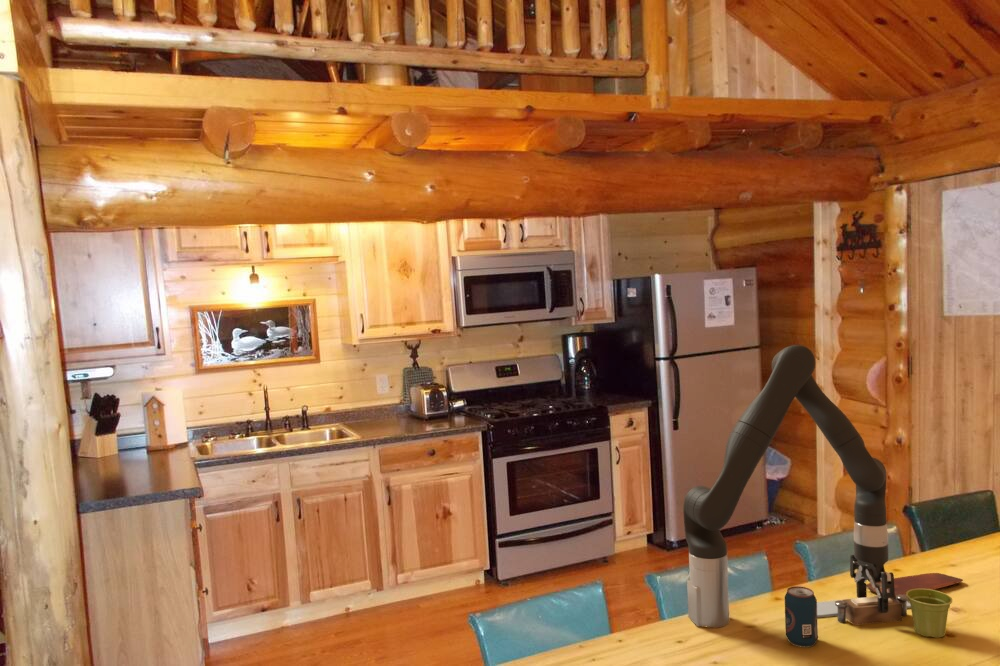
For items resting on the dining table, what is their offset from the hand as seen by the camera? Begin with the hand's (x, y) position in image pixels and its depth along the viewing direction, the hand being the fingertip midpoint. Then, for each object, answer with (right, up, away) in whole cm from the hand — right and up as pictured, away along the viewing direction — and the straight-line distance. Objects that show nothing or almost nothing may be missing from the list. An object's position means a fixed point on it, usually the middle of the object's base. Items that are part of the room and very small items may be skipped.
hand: (872, 604), depth 181 cm
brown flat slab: (+20, -1, +16) cm, 26 cm away
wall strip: (-1, -3, +7) cm, 7 cm away
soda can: (-21, -5, -10) cm, 24 cm away
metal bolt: (+8, -3, +1) cm, 9 cm away
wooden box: (0, -4, 0) cm, 4 cm away
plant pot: (+9, -4, -8) cm, 13 cm away
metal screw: (-8, -4, -1) cm, 9 cm away
